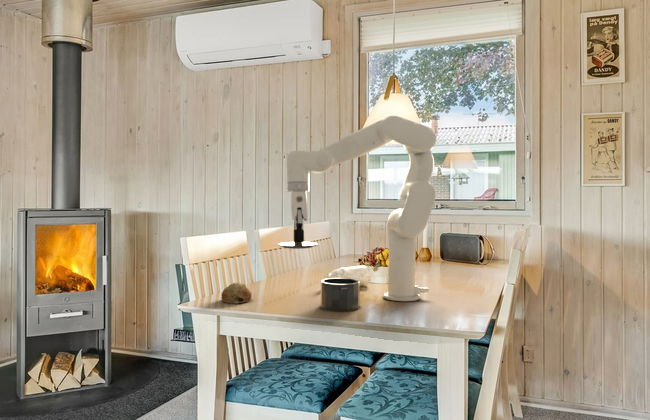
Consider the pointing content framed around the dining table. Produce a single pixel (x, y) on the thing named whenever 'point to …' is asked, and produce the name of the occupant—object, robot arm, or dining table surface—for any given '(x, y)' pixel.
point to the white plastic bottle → (352, 274)
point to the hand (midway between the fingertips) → (298, 241)
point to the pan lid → (298, 245)
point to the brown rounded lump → (236, 293)
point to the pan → (340, 294)
